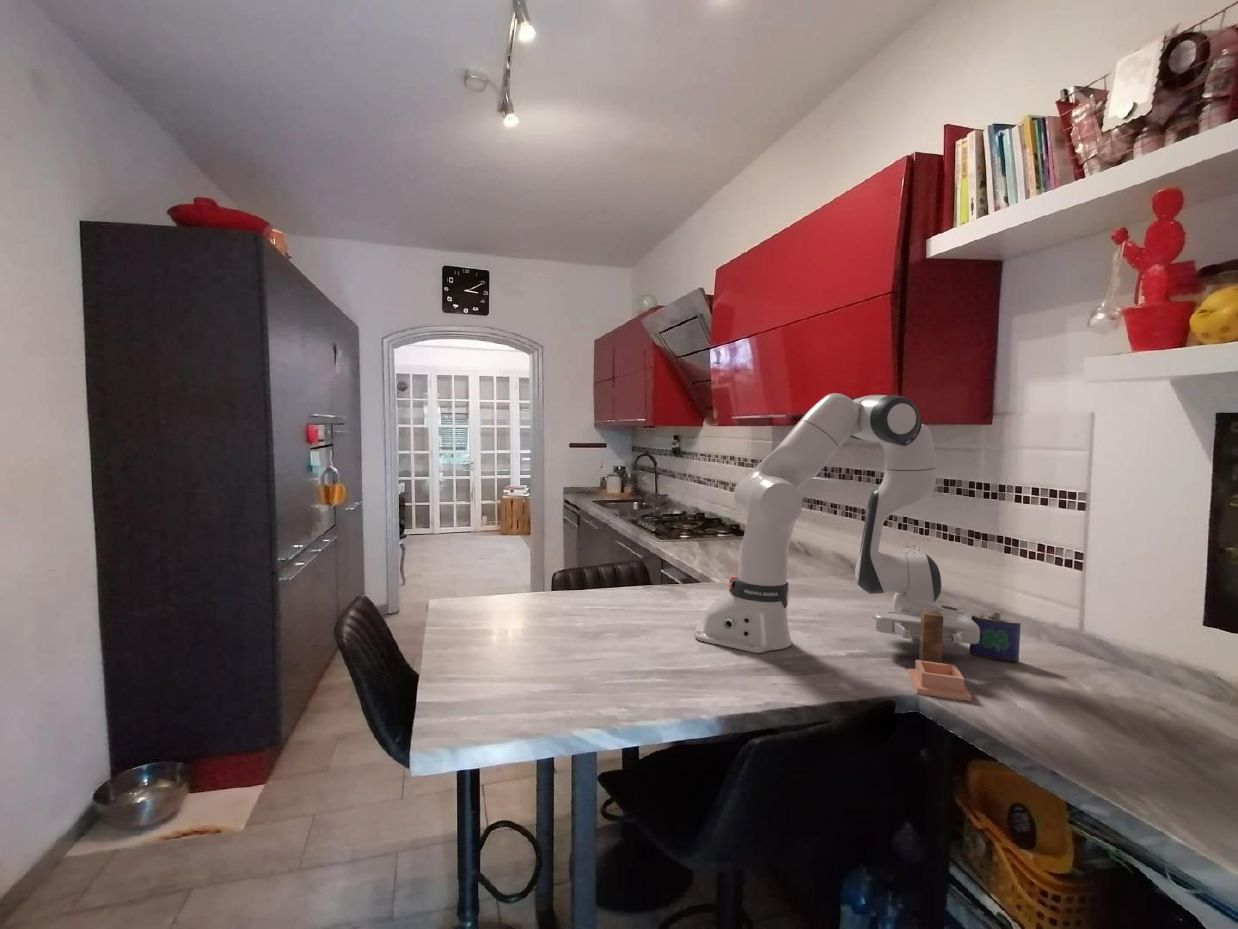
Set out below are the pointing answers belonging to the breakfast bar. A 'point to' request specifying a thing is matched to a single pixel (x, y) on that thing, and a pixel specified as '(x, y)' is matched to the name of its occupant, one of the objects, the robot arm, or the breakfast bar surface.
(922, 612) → the walnut stick
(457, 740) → the breakfast bar surface
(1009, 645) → the flask
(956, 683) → the terracotta holder
